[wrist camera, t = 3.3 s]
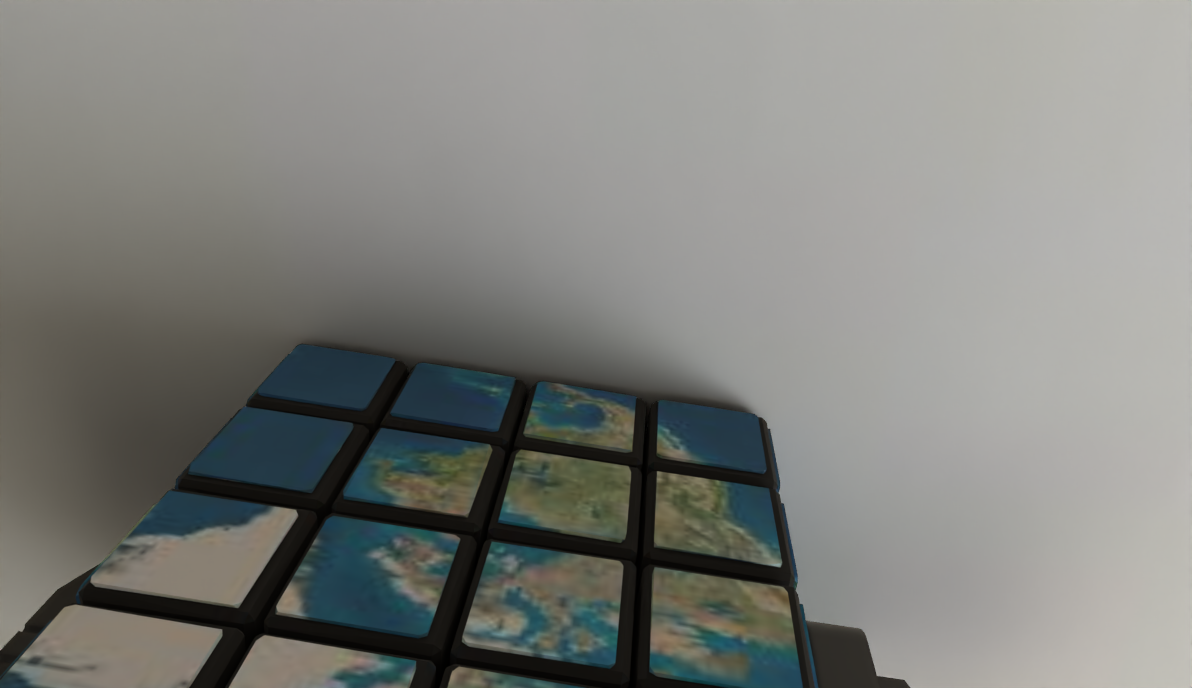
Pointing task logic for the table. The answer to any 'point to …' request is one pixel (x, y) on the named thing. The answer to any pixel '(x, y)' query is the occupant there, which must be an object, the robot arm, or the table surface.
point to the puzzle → (447, 546)
